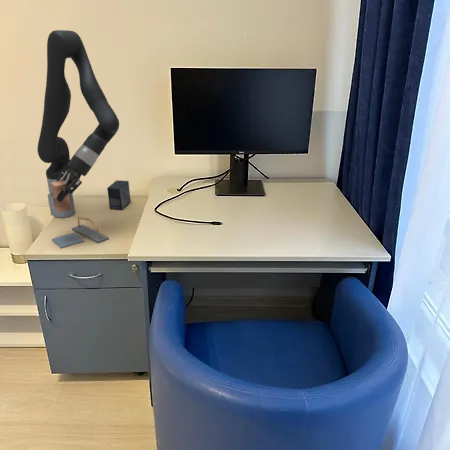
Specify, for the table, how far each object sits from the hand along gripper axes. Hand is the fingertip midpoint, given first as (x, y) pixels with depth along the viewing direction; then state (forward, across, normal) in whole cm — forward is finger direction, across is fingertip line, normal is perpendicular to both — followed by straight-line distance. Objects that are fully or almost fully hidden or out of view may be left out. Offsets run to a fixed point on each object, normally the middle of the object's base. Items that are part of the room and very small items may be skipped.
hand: (56, 198), depth 156 cm
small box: (-11, -20, +37) cm, 43 cm away
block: (+2, 0, +5) cm, 5 cm away
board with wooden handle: (+5, 0, +20) cm, 21 cm away
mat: (+11, 0, +14) cm, 18 cm away
